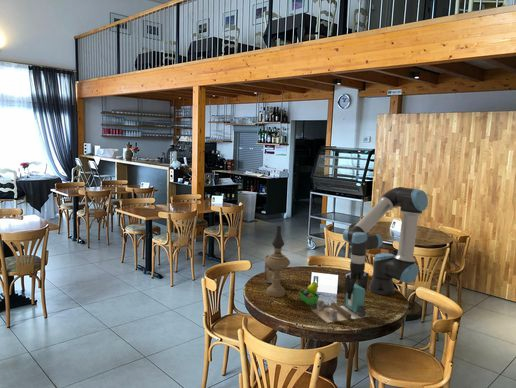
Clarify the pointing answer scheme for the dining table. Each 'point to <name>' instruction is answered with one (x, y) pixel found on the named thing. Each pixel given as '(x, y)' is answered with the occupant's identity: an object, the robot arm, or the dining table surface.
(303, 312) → the dining table surface
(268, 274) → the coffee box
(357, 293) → the teal box
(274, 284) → the oil lamp
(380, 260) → the robot arm
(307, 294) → the fruit basket
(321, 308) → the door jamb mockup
